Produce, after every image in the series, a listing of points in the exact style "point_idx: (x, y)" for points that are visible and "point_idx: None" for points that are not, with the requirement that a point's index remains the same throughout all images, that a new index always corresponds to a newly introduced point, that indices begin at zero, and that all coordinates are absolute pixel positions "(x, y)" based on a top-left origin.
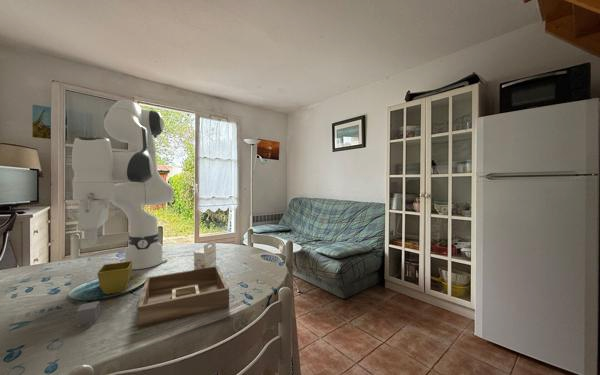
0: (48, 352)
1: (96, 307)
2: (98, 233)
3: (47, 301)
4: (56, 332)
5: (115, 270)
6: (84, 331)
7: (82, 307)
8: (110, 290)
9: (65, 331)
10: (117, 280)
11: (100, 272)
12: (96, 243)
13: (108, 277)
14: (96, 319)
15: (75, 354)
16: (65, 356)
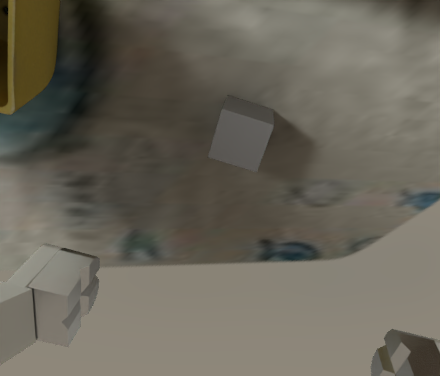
0: (348, 205)
1: (260, 118)
2: (68, 313)
3: (15, 203)
4: (251, 190)
5: (13, 36)
6: (306, 138)
7: (237, 156)
8: (56, 47)
9: (263, 174)
10: (43, 23)
11: (12, 103)
12: (432, 340)
13: (30, 64)
14: (263, 108)
15: (419, 162)
16: (405, 179)
